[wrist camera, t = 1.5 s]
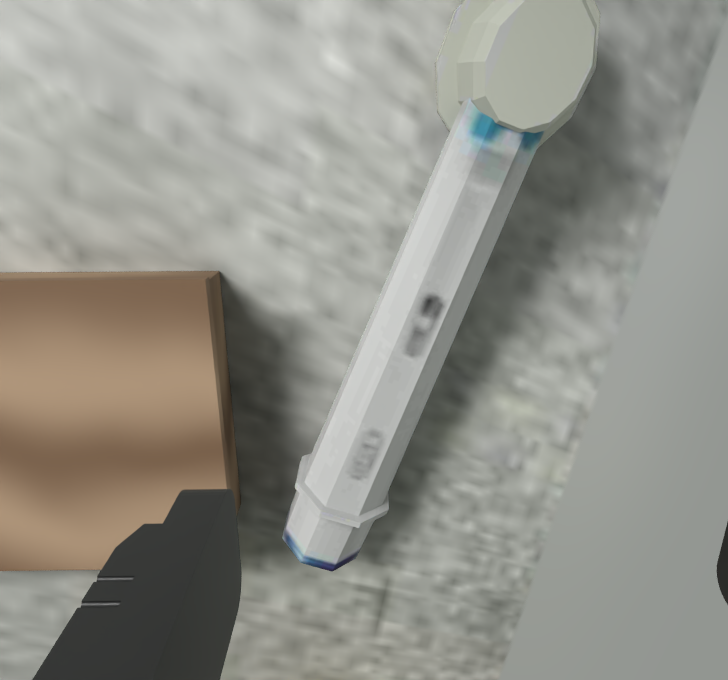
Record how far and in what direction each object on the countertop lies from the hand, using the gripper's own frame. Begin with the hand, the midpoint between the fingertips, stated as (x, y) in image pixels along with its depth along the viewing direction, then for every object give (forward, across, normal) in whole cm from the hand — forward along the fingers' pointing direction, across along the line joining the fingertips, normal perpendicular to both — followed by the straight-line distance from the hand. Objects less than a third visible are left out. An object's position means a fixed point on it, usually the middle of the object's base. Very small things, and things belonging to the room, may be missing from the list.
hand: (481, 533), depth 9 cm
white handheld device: (+17, 0, 0) cm, 17 cm away
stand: (+16, +16, +5) cm, 23 cm away
